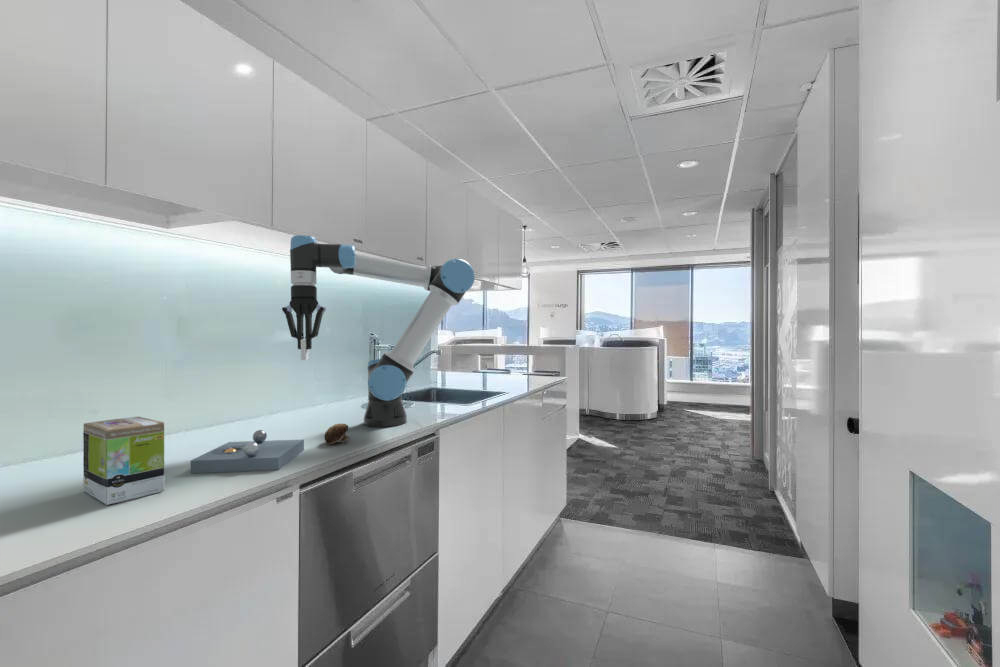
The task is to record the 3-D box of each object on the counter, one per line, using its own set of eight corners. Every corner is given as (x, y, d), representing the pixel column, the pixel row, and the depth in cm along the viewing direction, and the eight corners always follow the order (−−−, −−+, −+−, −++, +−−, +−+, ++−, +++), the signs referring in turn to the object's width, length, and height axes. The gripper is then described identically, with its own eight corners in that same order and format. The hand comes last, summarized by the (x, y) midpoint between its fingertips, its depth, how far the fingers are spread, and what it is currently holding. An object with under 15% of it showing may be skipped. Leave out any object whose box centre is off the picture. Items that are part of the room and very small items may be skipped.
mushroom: (359, 429, 137) (346, 414, 135) (349, 445, 130) (334, 429, 128) (340, 440, 139) (327, 425, 137) (329, 456, 132) (314, 441, 130)
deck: (304, 450, 126) (303, 439, 126) (278, 469, 108) (278, 457, 108) (229, 452, 124) (228, 441, 124) (190, 473, 106) (190, 460, 106)
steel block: (268, 440, 124) (268, 428, 124) (263, 443, 121) (263, 431, 121) (256, 441, 124) (255, 429, 124) (250, 444, 121) (250, 431, 121)
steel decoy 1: (262, 454, 111) (262, 440, 111) (256, 457, 108) (255, 443, 108) (247, 454, 111) (247, 440, 111) (241, 458, 107) (241, 444, 107)
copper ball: (240, 446, 117) (226, 447, 117) (233, 448, 114) (219, 450, 114) (240, 459, 117) (227, 460, 117) (233, 462, 114) (219, 463, 113)
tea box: (167, 491, 94) (165, 421, 94) (105, 507, 86) (104, 430, 86) (140, 478, 103) (139, 414, 103) (81, 492, 94) (80, 421, 94)
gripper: (277, 284, 137) (278, 360, 138) (321, 284, 139) (322, 360, 139) (286, 286, 145) (287, 359, 145) (328, 286, 146) (329, 358, 146)
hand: (304, 359), depth 142 cm, fingers closed
